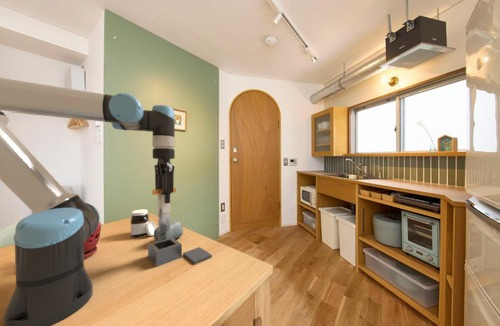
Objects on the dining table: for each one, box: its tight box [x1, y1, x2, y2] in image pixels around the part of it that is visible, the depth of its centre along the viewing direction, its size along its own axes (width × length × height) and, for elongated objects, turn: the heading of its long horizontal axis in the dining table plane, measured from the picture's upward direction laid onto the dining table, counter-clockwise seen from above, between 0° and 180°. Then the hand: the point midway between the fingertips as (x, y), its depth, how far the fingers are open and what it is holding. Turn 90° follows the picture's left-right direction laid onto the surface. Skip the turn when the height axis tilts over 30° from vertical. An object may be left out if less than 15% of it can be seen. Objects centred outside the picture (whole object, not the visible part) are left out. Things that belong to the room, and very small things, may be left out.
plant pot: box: [84, 221, 102, 260], centre depth 72 cm, size 13×13×12 cm
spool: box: [153, 220, 184, 242], centre depth 86 cm, size 14×10×10 cm
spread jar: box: [130, 208, 158, 238], centre depth 93 cm, size 12×11×12 cm
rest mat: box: [182, 246, 213, 265], centre depth 72 cm, size 7×9×1 cm
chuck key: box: [151, 187, 176, 232], centre depth 71 cm, size 4×8×16 cm, turn 134°
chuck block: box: [147, 237, 183, 268], centre depth 71 cm, size 9×9×5 cm
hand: (164, 210), depth 71 cm, fingers closed on chuck key, 4 cm apart
